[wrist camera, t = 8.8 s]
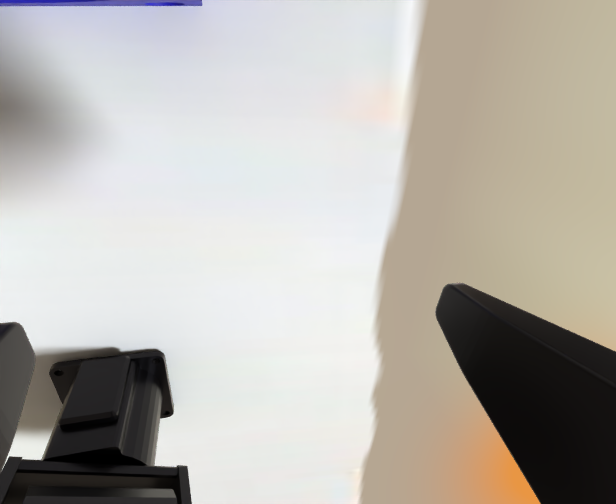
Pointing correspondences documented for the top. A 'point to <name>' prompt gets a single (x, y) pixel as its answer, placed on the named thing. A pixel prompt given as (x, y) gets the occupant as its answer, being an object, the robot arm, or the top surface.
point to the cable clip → (100, 2)
